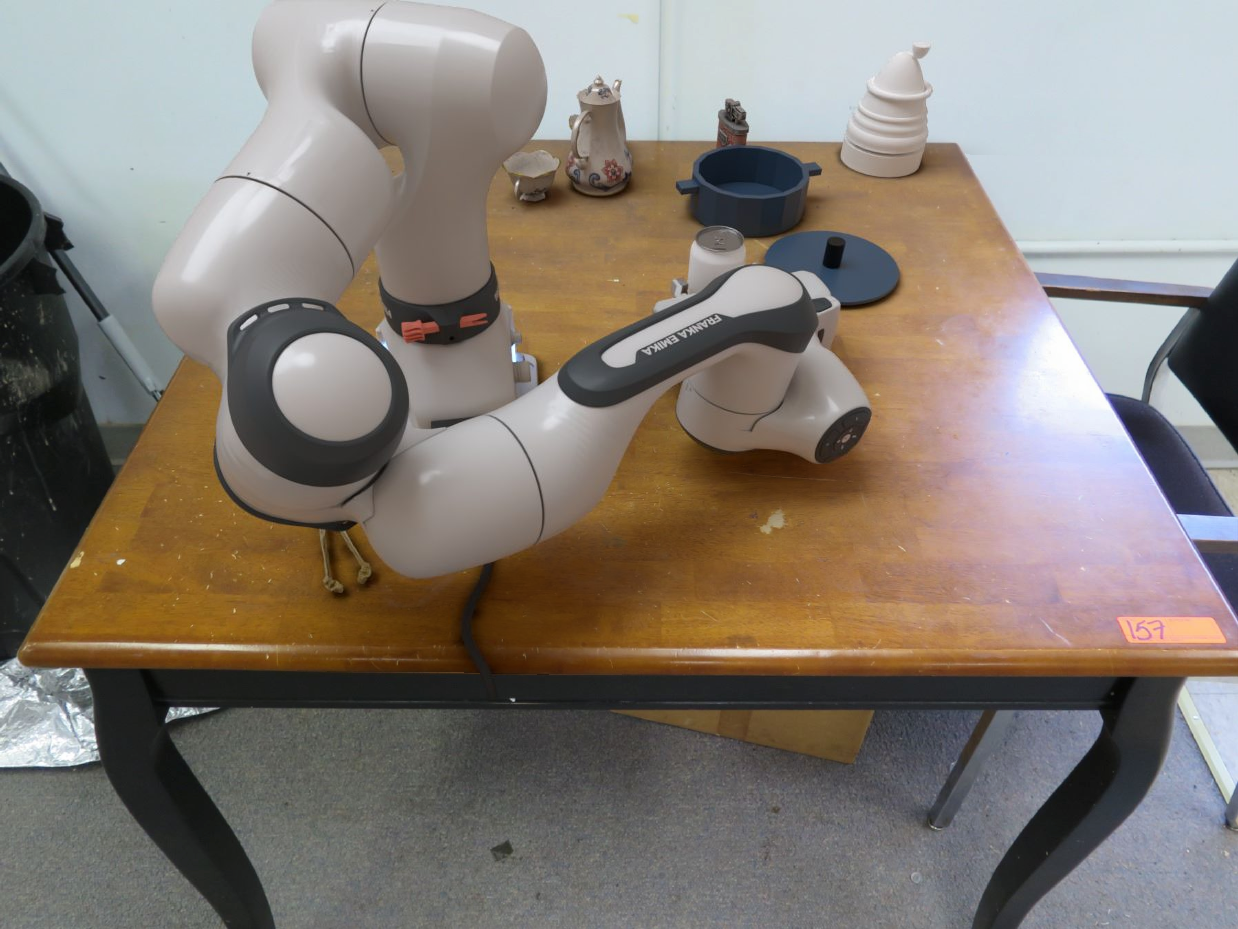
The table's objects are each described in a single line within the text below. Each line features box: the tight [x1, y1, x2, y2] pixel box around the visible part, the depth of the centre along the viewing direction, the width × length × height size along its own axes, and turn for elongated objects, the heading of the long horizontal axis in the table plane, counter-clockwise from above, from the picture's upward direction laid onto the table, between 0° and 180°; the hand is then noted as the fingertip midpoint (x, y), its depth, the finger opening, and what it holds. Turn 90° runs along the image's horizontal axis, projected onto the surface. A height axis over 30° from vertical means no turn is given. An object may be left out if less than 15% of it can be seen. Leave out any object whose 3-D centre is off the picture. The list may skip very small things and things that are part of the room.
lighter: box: [715, 97, 750, 149], centre depth 125 cm, size 8×3×10 cm, turn 17°
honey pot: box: [840, 41, 934, 178], centre depth 124 cm, size 13×13×18 cm
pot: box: [675, 144, 823, 238], centre depth 116 cm, size 17×22×6 cm
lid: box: [764, 230, 900, 306], centre depth 105 cm, size 18×18×5 cm
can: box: [687, 226, 747, 295], centre depth 94 cm, size 6×6×12 cm
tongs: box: [318, 529, 372, 594], centre depth 73 cm, size 4×13×2 cm, turn 33°
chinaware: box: [501, 74, 634, 202], centre depth 119 cm, size 28×17×17 cm, turn 154°
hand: (712, 276), depth 94 cm, fingers open, 8 cm apart
